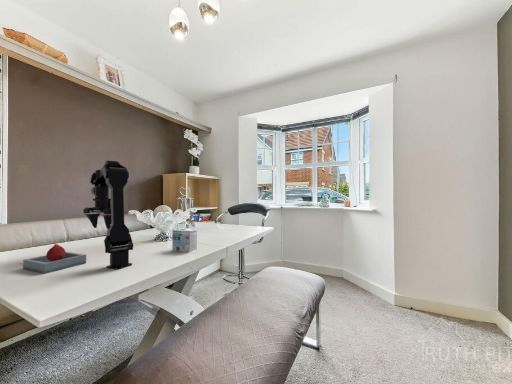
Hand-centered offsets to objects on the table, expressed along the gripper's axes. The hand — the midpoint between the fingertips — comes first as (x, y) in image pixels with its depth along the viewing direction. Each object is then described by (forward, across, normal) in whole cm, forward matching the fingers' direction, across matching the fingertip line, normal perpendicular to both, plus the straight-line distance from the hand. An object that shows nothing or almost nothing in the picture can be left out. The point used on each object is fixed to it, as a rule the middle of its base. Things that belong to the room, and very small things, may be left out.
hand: (101, 228), depth 113 cm
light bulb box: (+12, -34, -20) cm, 41 cm away
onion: (+11, -4, +21) cm, 24 cm away
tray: (+12, -4, +21) cm, 25 cm away
